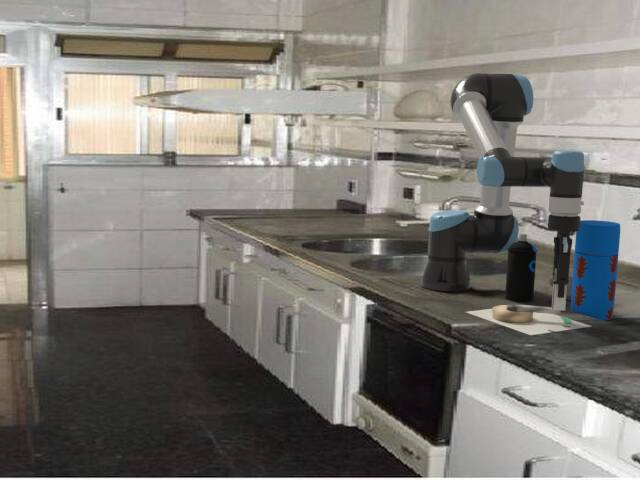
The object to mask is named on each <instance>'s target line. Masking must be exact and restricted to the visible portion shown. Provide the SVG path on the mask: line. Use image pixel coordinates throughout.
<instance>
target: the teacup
mask: <svg viewBox="0 0 640 480" xmlns="http://www.w3.org/2000/svg"><path fill="white" fill-rule="evenodd" d="M568 280H569V282H568V284H567V291H566V301H571V295H572V281H573V268H569V278H568ZM553 281H554V278H553V274H552V275H551V276H550V278H549V284H550V286H551V287H552V288H553Z"/></svg>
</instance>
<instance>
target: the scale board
mask: <svg viewBox="0 0 640 480" xmlns="http://www.w3.org/2000/svg"><path fill="white" fill-rule="evenodd" d="M465 313H467V314H470V315H472V316H474V317H478V318H480V319H483V320H486V321H489V322H492V323H494V324H498V325H500V326H502V327H506V328H509V329H511V330H515V331H517V332H520V333H523V334H526V335H529V336H534V335H543V334H548V333H549V334H550V333H556V332H563V331H568V330H570V331H571V330H576V329H577V330H578V329H584V328H590V327H592V325H590V324H586V323H583V322H580V321H577V320H572V319H571V318H569V317H567V316H560V315H559V314H548V313H536V312H533V320H532V321H529V322H521V323H517V322H506V321H501V320H497V319H495V318H493V317H492V308H488V309H487V308H486V309H479V310H469V311H465Z"/></svg>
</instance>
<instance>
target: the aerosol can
mask: <svg viewBox="0 0 640 480" xmlns="http://www.w3.org/2000/svg"><path fill="white" fill-rule="evenodd" d="M527 236H528V234H527V233H523V232H522V233H519V236H518V237H519V239H518V240H517V241H516V242H515V243H512V244H511V245H510V246H509V247H508V248H507V249H508V252H507V263H506V264H507V265H506V276H505V277H506V278H505V279H506V281H505V296H504V299H505V300H507V301H510V302H515V303H531V302H533V301H534V296H535V295H534V294H535V281H536V264H537V252H538V248H536V246H535V245H534V244H532V243H531V242H529V241H527Z"/></svg>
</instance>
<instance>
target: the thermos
mask: <svg viewBox="0 0 640 480" xmlns="http://www.w3.org/2000/svg"><path fill="white" fill-rule="evenodd" d="M620 238H621V223H619V222H615V221H614V222H613V221H607V220H593V219H591V220H589V219H587V220H586V219H585V220H580V230H579V231H577V232H575V241H574V242H575V244H574V256H573V268H572V269H573V281H572V295H571V300H570V312H572V313H575V314H579V315H582V316H586V317H589V318H592V319H595V320H600V321H603V322H604V321H611V320H612V319H613V317H614V316H613V315H614V308H615V300H616V299H615V298H616V287H617V278H618V277H617V275H618V265H619V263H618V261H619V252H620V250H619V249H620V242H621V240H620Z"/></svg>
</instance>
